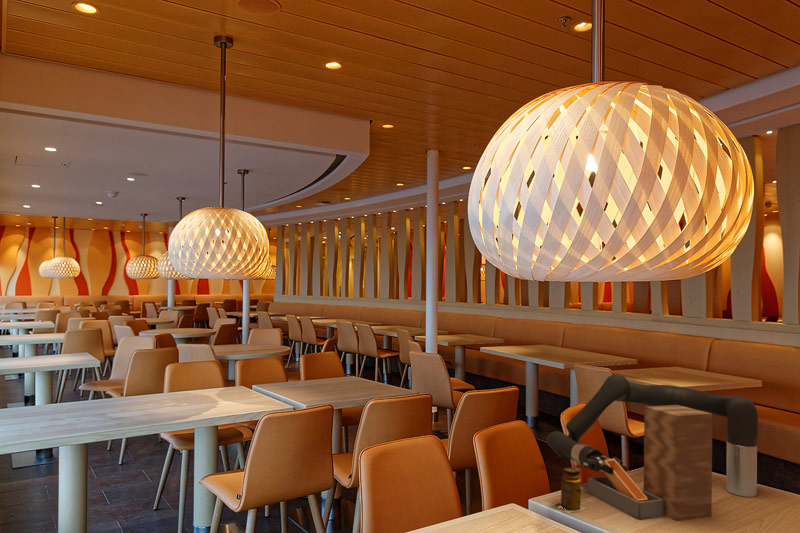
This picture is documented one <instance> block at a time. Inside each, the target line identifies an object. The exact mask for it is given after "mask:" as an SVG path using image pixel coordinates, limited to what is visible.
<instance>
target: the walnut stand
mask: <svg viewBox="0 0 800 533" xmlns="http://www.w3.org/2000/svg"><path fill="white" fill-rule="evenodd" d="M643 420H644V423H643V426H644V428H643V429H644V430H643V431H644V432H643V439H644V440H643V490H644V491H646V492H648V493H650V494H653V495H655V496H657V497H659V498H661V499H663V500H665V501H664V516H665V517H668V518H669V519H672V520H674V521H676V522H679V521H680V522H681V521H686V520H692V519H693V520H695V519H699V518H702V519H703V518H706V517H707V518H708V517H712V512H713V511H712V504H713V502H712V501H713V499H712V498H713V496H712V494H713V493H712V492H713V491H712V489H713V485H712V484H713V472H712V471H713V414H711V413H707V412H703V411H700V410H696V409H692V408H688V407H684V406H680V405H666V406H650V405H647V406H644V419H643Z"/></svg>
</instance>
